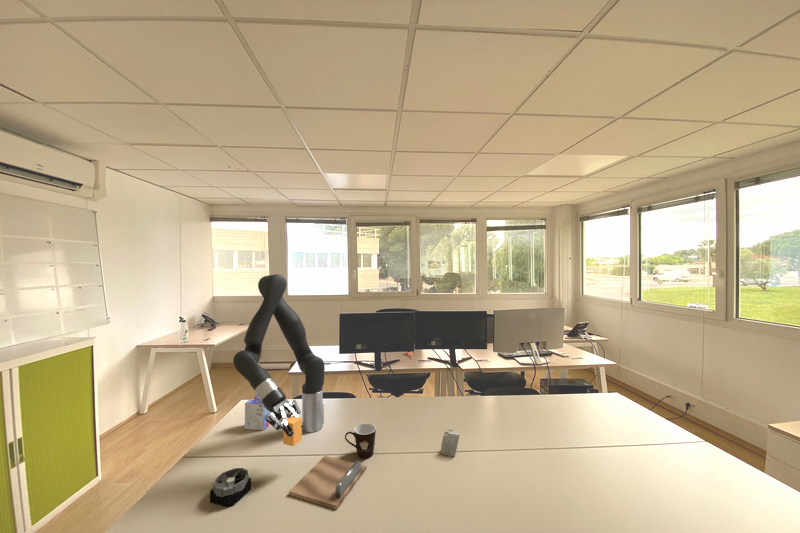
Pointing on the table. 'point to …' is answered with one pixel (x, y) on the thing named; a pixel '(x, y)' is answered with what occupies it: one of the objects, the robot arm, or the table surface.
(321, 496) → the plate
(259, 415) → the ink cartridge box
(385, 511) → the table surface
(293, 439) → the orange rectangular prism
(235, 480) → the cpu cooler
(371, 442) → the coffee mug
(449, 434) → the mineral specimen
